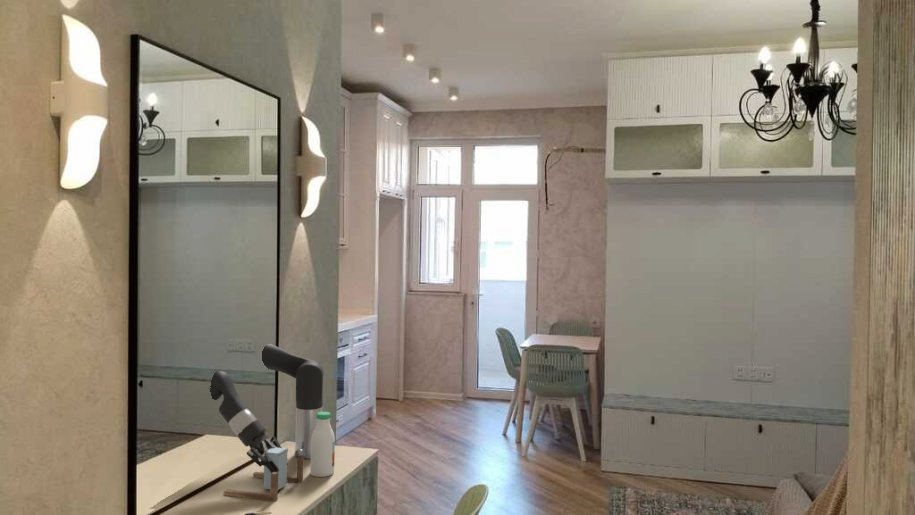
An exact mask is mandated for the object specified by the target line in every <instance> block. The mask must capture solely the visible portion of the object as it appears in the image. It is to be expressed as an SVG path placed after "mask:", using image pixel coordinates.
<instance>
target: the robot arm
mask: <svg viewBox="0 0 915 515" xmlns="http://www.w3.org/2000/svg"><path fill="white" fill-rule="evenodd" d="M262 361H263V363H264V365H265V366H266V367H267V368H268V369H267V370H269V369H270V370H271V371H275V372H276V371H277V372H281V373H284V374H286V375H287V376H290V377H292V378H294V379H295V436H294V437H295V438H294V440H295V443H294V445H295V446H294V452H295V451H297V450H298V449H300V448H302V442H303V441H304V448H305V450H306V453H305V455H303V459H311V438H312V434H313V432H314V430H315V427H316V424H317V420H316V419H317V418H316V414H317V413H319V412H323V406H324V405H323V398H324V397H323V384H324V369H323V366H322V365H321V364H320V363H319V362H317V361H316V360H314V359H309V358H305V357H302V356H299V355H296V354H294V353H290V352H288V351H286V350H285V349H282V348H280V347H278V346H276V345H274V344H272V343H270V344H267V345H266V346H265V347H264V349H263V351H262ZM270 370H269V371H270ZM210 387H211V388H210V392H211V396H212V399H214V400H217V399H218V400H219V399H220V398H221V397H222V396H223V401H222V403H221V404H220V405H219V408H218V412H219V413H220V415H221V416H222V418H224V420H225V421H226V423H227V425H229V427H230V429H231V431H232V432H233V433H234V434H235V435H236V436H237V438H238V440H240V441H241V443H242V444H243V445H244V446H245V447H249V448H250V449H249V450H248V451H247V452H246V456H248V457H249V458H250V459H251V460H252V461H253V462H254V463H256V465H257V466H258V467H262V466H263V467H264V466H266V467H267V468H268V469H269V471H270V472H271V473H273V472H278V471H279V469H278V468H277V467H276V465H275V464H274V463H273V462H272V461H271V459H270V457H269V456H268V450H269V449H270V448H275V447H276V448H283V447H282V445H281V444H280V443H279V441H278V439H277V438H276V436H275V435H273V436H271V437H268V436H267V435H266V432H267V430H266V428H265V427H264V426H263V425H262V423H261V422H260V421H259V419H258V418H257V417H256V416H255V415H254V414H253V412H252V411H251V410H249V408H248V407H247V406H246V405H245V404H244V403H243V401H242V400H241V398H240V397H239V394H238V392H237V390H236V388H235V384H234V382H233V380H232V378H231V377H230V376H229V374H228V373H227V372H225V371H224V370H222V371H220V370H218V371H216V372H215V373H214V375H213V377H212V380H211V386H210ZM218 400H217V401H218ZM264 457H266V459H265V458H264ZM287 466H288V462H287Z"/></svg>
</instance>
